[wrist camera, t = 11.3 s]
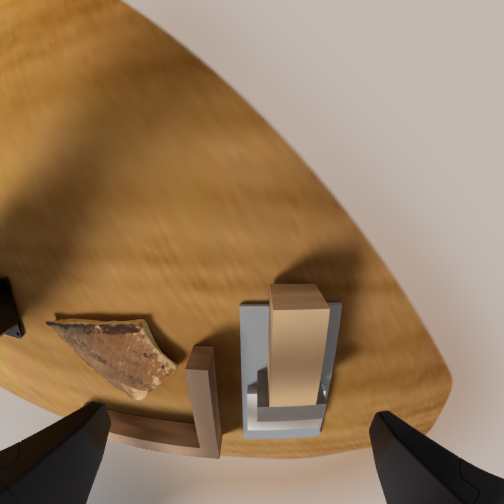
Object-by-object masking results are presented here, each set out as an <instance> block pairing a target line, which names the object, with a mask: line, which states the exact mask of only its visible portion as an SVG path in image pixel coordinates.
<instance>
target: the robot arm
mask: <svg viewBox="0 0 504 504" xmlns="http://www.w3.org/2000/svg"><path fill="white" fill-rule="evenodd" d="M3 334H6V335H10V336H13V337H16V338H22V337H23V332H22V329H21V326H20V323H19V319H18V316H17V312H16V309H15V305H14V301H13V297H12V293H11V288H10V284H9V280H8V278H7V277H5V276H0V337H1V336H2V335H3ZM110 427H111V418H110V416H109V413H108V411H107V408H106V406H105V404H104V403H101V402H97V401H92V402H90V403H89V404H87V405H85V406H84V407H82V408H80V409H78V410H77V411H75V412H73V413H71V414H70V415H68V416H66V417H64V418H63V419H61V420H59V421H57V422H56V423H54V424H52V425H50V426H49V427H46V428H45V429H43V430H41V431H39V432H37V433H36V434H33V435H32V436H30V437H28V438H26V439H24V440H22V441H21V442H18V443H16V444H14V445H12V446H10V447H8V448H6V449H4V450H1V451H0V504H86V502H87V499H88V496H89V493H90V491H91V488H92V485H93V482H94V479H95V477H96V474H97V471H98V469H99V466H100V463H101V461H102V457H103V454H104V450H105V446H106V442H107V438H108V434H109V430H110ZM369 435H370V440H371V445H372V450H373V455H374V460H375V465H376V469H377V473H378V476H379V479H380V482H381V485H382V489H383V492H384V495H385V499H386V502H387V504H504V479H503V478H500V477H498V476H495V475H493V474H491V473H488V472H486V471H484V470H482V469H480V468H478V467H476V466H474V465H472V464H470V463H468V462H467V461H465V460H463V459H462V458H459V457H458V456H457V455H455V454H453V453H452V452H450V451H448V450H447V449H445V448H444V447H442V446H440V445H439V444H438V443H436V442H434V441H433V440H431V439H430V438H428V437H427V436H425V435H424V434H422V433H421V432H419V431H418V430H416V429H415V428H413V427H412V426H410V425H409V424H407V423H406V422H404V421H403V420H401V419H400V418H398V417H397V416H395V415H394V414H393V413H391V412H390V411H387V410H386V411H380V412H377V413H376V414H375V416H374V418H373V421H372V423H371V426H370V428H369Z"/></svg>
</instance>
